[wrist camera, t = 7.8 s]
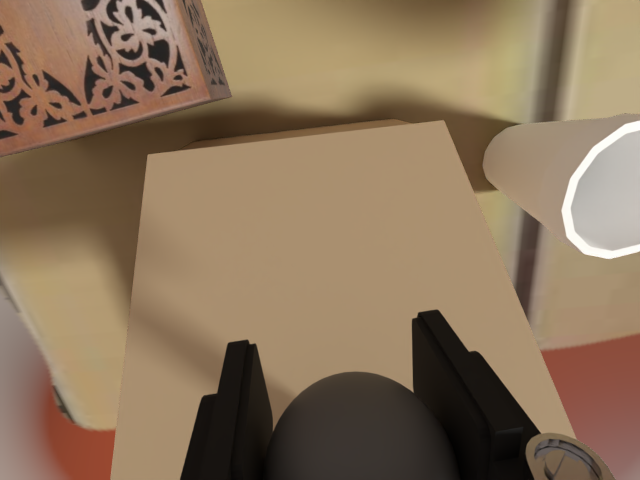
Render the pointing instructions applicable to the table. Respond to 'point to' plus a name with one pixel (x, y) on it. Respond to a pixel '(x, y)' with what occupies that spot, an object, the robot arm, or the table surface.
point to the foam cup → (574, 179)
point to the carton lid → (317, 301)
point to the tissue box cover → (100, 66)
